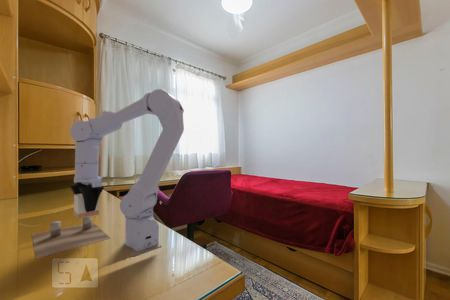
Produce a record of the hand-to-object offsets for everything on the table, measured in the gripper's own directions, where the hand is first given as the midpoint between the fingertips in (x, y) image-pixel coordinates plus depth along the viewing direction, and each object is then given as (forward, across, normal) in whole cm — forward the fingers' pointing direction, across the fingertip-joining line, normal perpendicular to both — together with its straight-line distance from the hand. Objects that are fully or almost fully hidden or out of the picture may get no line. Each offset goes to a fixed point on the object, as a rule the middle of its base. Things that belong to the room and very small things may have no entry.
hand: (86, 209), depth 59 cm
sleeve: (+2, 0, 0) cm, 2 cm away
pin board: (+10, +5, +2) cm, 11 cm away
